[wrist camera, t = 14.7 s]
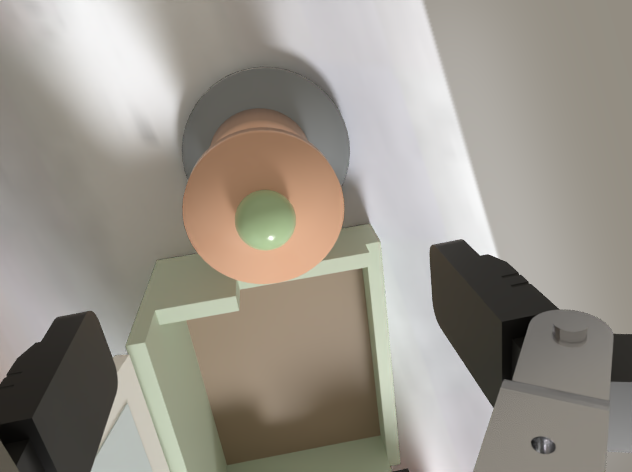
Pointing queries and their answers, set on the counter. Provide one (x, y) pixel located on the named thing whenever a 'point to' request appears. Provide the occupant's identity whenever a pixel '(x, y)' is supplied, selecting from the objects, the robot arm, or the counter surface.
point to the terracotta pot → (262, 200)
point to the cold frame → (270, 365)
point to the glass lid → (129, 429)
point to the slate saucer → (276, 94)
